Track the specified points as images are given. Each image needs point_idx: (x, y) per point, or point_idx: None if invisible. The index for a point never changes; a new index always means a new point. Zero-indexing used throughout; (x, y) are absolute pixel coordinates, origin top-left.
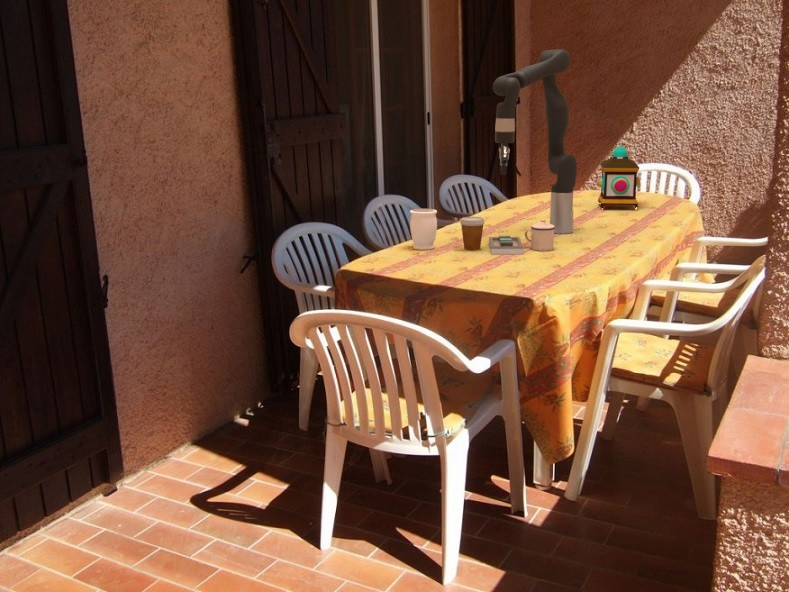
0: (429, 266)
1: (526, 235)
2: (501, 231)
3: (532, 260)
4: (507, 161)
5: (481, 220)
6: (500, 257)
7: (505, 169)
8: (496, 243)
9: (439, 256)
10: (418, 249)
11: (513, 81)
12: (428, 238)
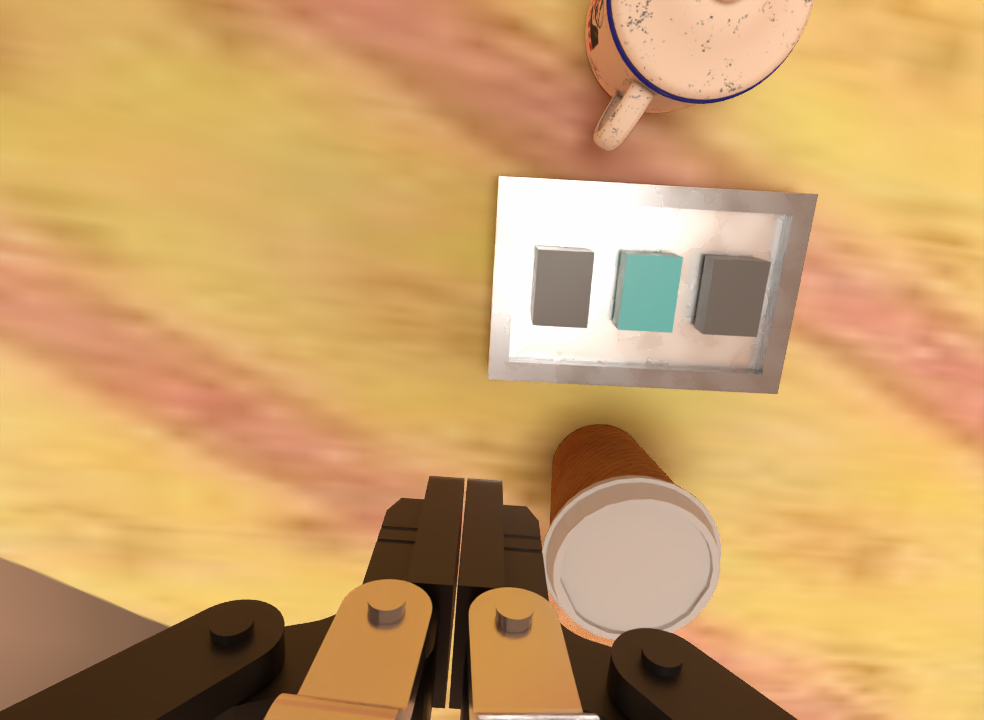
0: (950, 673)
1: (595, 133)
2: (56, 234)
3: (976, 162)
4: (787, 716)
5: (696, 514)
6: (848, 339)
7: (541, 563)
8: (614, 342)
9: (752, 626)
10: None
11: None
12: None
